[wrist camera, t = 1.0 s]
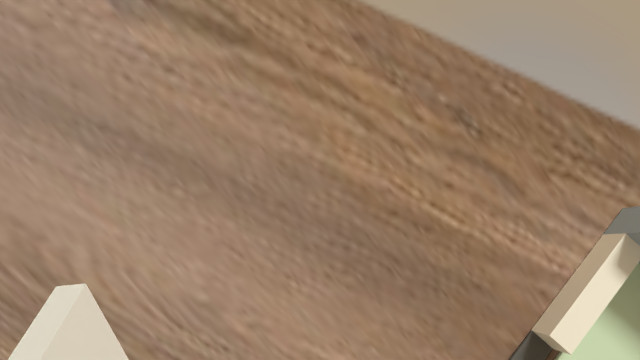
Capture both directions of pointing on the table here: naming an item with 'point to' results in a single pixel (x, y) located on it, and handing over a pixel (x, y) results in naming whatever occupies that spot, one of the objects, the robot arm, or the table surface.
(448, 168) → the table surface
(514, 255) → the table surface
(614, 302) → the pad
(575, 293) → the channel
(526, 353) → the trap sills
